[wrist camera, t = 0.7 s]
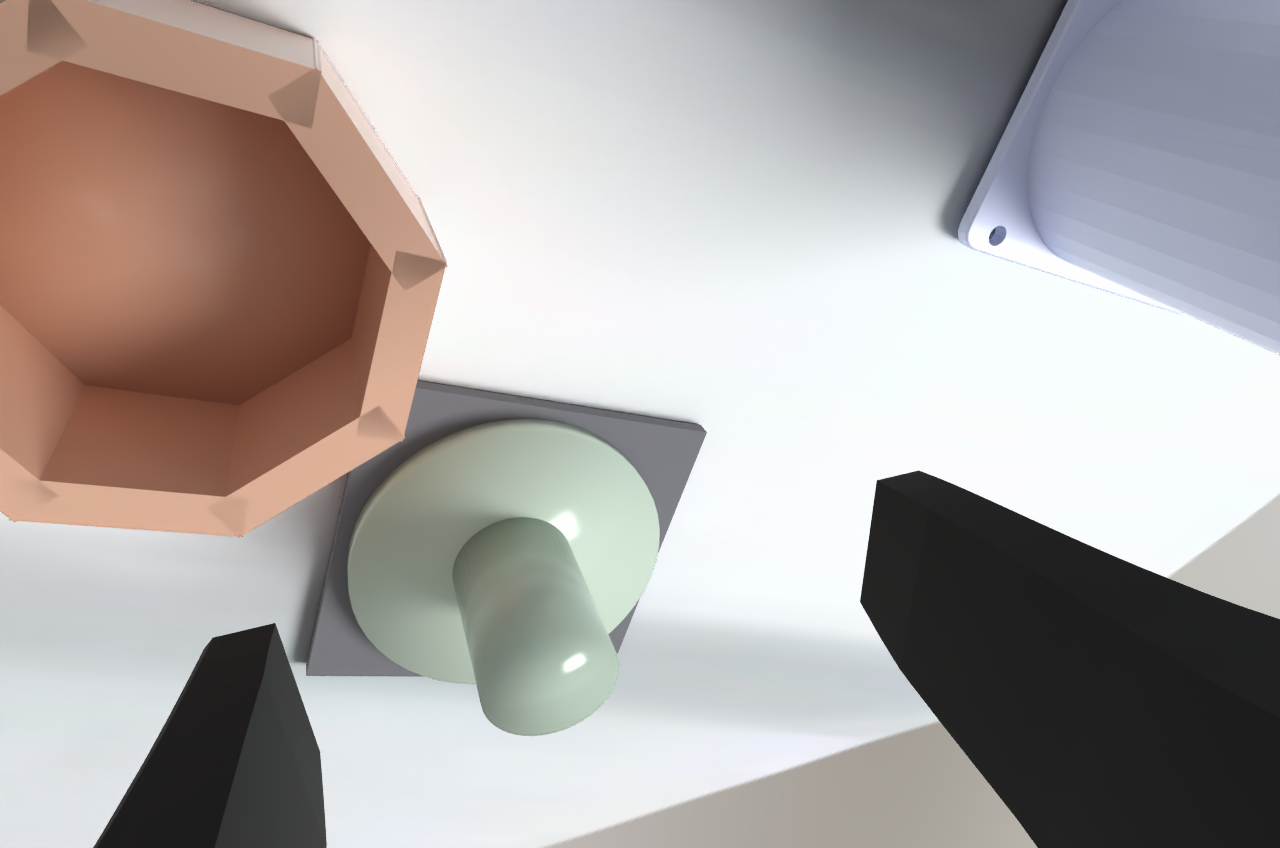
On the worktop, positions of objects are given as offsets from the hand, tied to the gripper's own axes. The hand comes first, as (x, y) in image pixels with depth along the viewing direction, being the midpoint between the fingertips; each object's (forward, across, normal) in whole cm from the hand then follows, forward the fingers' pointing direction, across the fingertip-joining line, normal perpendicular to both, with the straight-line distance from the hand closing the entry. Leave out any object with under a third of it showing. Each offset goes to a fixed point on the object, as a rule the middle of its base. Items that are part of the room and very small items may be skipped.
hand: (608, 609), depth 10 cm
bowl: (+10, +5, -2) cm, 12 cm away
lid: (+10, 0, +7) cm, 12 cm away
